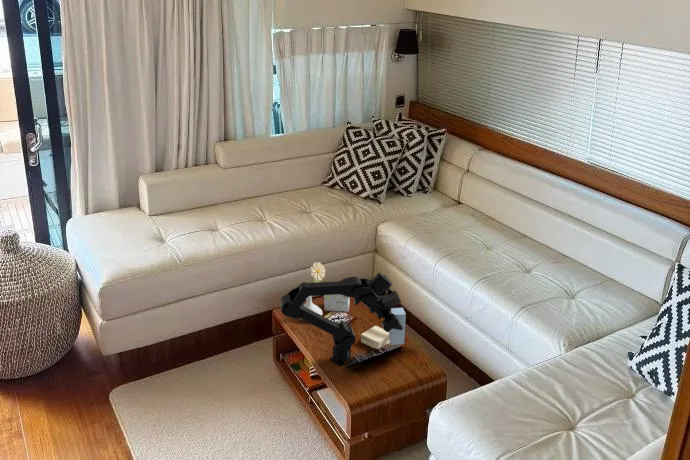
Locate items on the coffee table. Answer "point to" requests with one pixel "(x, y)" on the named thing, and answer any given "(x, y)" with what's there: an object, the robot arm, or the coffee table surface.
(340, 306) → the light bulb box
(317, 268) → the flower in vase
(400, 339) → the blue pillar
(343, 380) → the coffee table surface
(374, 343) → the maple block
